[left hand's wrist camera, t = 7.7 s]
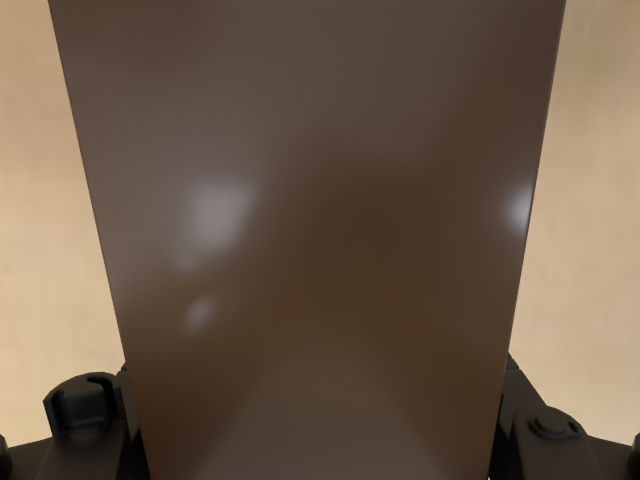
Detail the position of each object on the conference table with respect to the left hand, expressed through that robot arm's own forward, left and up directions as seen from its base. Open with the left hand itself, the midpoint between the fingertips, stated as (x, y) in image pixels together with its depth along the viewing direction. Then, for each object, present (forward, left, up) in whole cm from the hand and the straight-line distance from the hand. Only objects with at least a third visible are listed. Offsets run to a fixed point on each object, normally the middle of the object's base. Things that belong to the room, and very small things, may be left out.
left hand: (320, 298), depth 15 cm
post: (+14, -15, -1) cm, 20 cm away
